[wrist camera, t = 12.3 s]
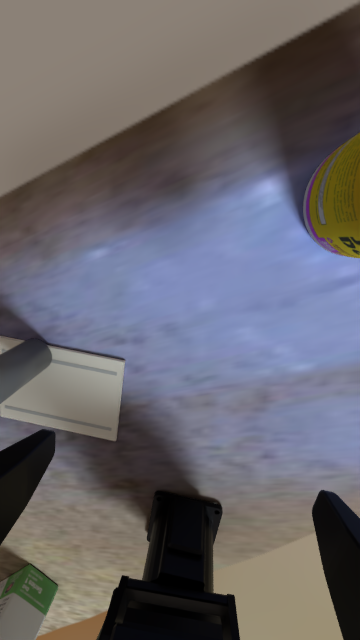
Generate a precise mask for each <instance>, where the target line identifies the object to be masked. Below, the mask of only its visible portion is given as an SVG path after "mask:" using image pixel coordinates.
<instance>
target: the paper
mask: <svg viewBox="0 0 360 640" xmlns="http://www.w3.org/2000/svg"><path fill="white" fill-rule="evenodd" d="M24 341H25V340H20V339H15V338H10V337H5V336H0V354H2V353H4V352H6V351H7V350H9V349H11V348H13V347H15V346H17V345H19V344H20V343H22V342H24ZM47 346H48V347H49V349H50V351H51V354H52V360H51V364H50V365H49V366H48V367H47V368H46V369H45V370H43V371H42V372H41V373H39V374H38V375H37V376H36V377H34V378H33V379H32V380H30V381H29V382H28V383H27V384H25V385H24V386H23V387H21V388H20V389H19V390H18V391H16V392H15V393H14V394H12V395H11V396H10V397H9V398H7V399H6V400H5V401H4V402H2V403H1V404H0V415H1V417H6V418H11V419H15V420H20V421H24V422H29V423H34V424H38V425H43V426H47V427H52V428H57V429H61V430H66V431H70V432H75V433H79V434H84V435H89V436H93V437H98V438H102V439H107V440H112V441H116V440H117V434H118V424H119V415H120V405H121V396H122V386H123V377H124V367H125V360H120V359H115V358H110V357H105V356H100V355H95V354H90V353H85V352H80V351H75V350H70V349H65V348H60V347H55V346H50V345H47Z"/></svg>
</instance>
